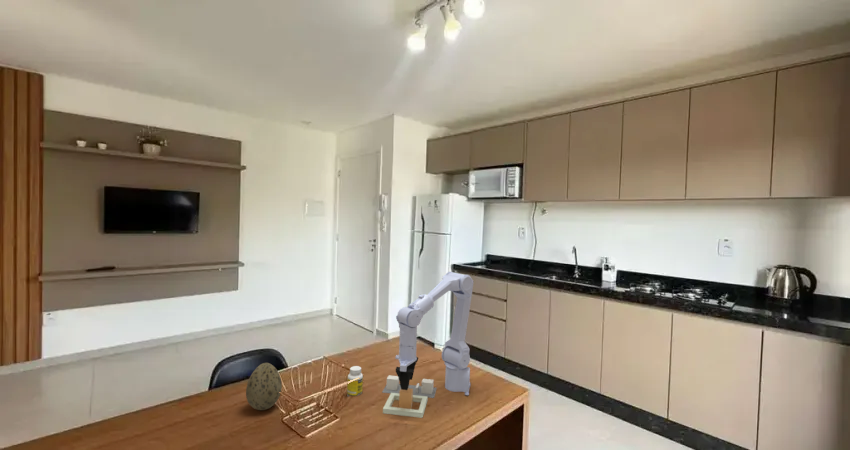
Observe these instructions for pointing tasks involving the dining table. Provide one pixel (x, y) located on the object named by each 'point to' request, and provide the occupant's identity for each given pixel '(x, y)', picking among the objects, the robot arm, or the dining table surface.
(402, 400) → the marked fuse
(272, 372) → the decorative egg
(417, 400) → the tray
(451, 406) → the dining table surface
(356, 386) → the supplement bottle
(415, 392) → the block
